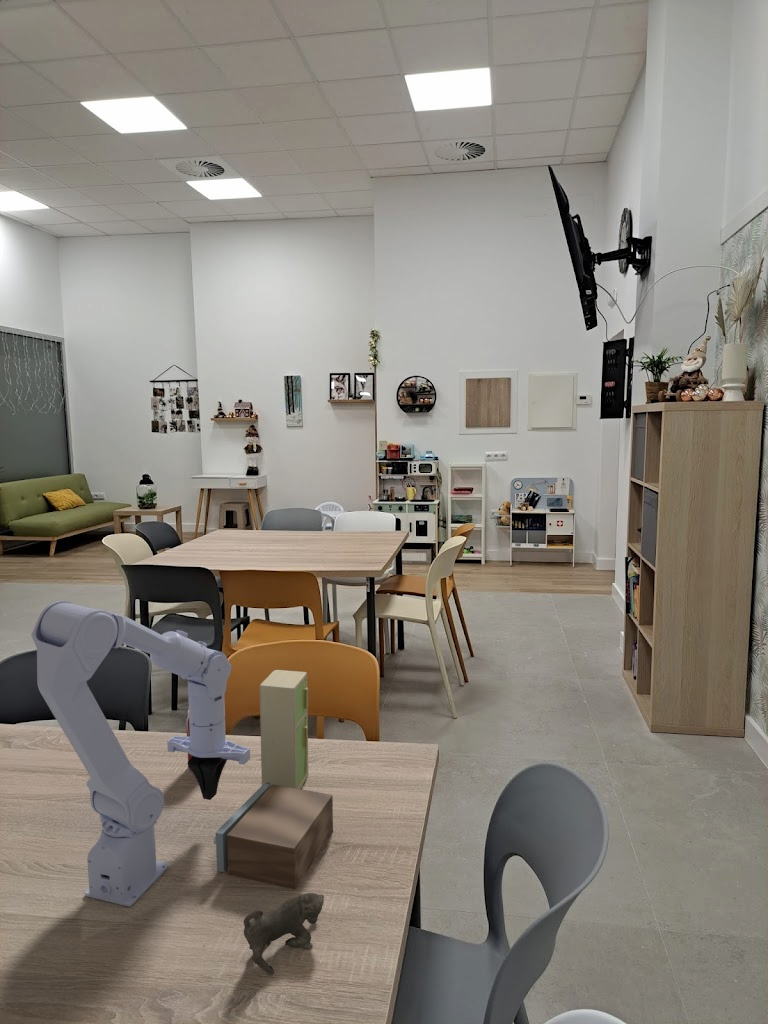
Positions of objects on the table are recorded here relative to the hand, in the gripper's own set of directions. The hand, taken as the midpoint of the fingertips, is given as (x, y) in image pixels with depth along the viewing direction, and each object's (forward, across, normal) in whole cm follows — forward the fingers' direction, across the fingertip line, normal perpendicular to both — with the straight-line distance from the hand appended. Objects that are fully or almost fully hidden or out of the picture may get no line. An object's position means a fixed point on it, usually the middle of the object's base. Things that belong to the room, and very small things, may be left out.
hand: (209, 796), depth 116 cm
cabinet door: (+5, -8, +2) cm, 10 cm away
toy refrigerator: (+6, -7, -16) cm, 18 cm away
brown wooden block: (+5, -15, +2) cm, 16 cm away
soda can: (+6, +12, -17) cm, 22 cm away
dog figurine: (+6, -24, +20) cm, 32 cm away
